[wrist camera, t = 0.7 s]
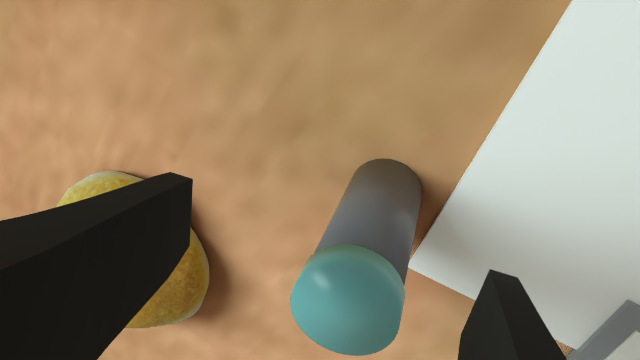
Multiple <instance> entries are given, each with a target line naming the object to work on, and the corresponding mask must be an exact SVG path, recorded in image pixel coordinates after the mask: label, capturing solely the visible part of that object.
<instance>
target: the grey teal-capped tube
mask: <svg viewBox="0 0 640 360" xmlns="http://www.w3.org/2000/svg"><path fill="white" fill-rule="evenodd" d="M421 200H422V187H421V184H420V181H419V179H418V177H417V176H416V174H415V173H414V172H413V171H412V170H411V169H410V168H409V167H407V166H406V165H404V164H402V163H401V162H398V161H395V160H391V159H375V160H371V161H369V162H367V163H365V164H363V165H362V166H360V167H359V168H358V169H357V171H356V172H355V173H354V175H353V177H352V179H351V181H350V183H349V185H348V187H347V189H346V191H345V193H344V195H343V197H342V199H341V201H340V203H339V205H338V207H337V209H336V211H335V213H334V215H333V217H332V219H331V221H330V223H329V225H328V227H327V229H326V231H325V233H324V235H323V237H322V239H321V241H320V243H319V245H318V247H317V249H316V251H315V253H314V254H313V255H312V256H311V257H310V258H309V259H308V261H307V262H306V264H305V266H304V268H303V270H302V272H301V274H300V276H299V278H298V280H297V282H296V284H295V286H294V287H293V290H292V293H291V298H290V305H291V311H292V314H293V317H294V319H295V321H296V322H297V324H298V326H299V327H300V328H301V330H302V331H303V332H304V333H305V334H306V335H307V336H308V337H309V338H310V339H312V340H313V341H314V342H316V343H317V344H319V345H321V346H322V347H324V348H326V349H328V350H331V351H334V352H337V353H341V354H345V355H355V356H359V355H368V354H372V353H376V352H378V351H380V350H382V349H384V348H385V347H387V346H388V345H389V344H390V343H391V342H392V341H393V340H394V339H395V337H396V335H397V333H398V330H399V325H400V320H401V315H402V310H403V305H404V299H405V290H404V284H405V279H406V274H407V269H408V264H409V259H410V254H411V249H412V244H413V239H414V235H415V230H416V225H417V220H418V215H419V210H420V205H421Z"/></svg>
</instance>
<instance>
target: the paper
mask: <svg viewBox="0 0 640 360" xmlns="http://www.w3.org/2000/svg"><path fill="white" fill-rule="evenodd" d="M408 268H410V269H412V270H414V271H416V272H418V273H420V274H422V275H424V276H426V277H428V278H430V279H432V280H434V281H436V282H439V283H441V284H443V285H445V286H447V287H449V288H451V289H453V290H455V291H457V292H459V293H461V294H463V295H465V296H467V297H469V298H471V299H473V300H475V301H476V299H477V297H478V295H479V292H480V290H481V288H482V285H483V283H484V281H485V279H486V276H487V274H488V272H489V269H491V270H495V271H498V272H501V273H505V274H508V275H511V276H515V277H518V278H519V280H520V282H521V284H522V285H523V287H524V289H525V290H526V292H527V294H528V296H529V297H530V299H531V301H532V303H533V304H534V306H535V308H536V310H537V311H538V313H539V315H540V317H541V318H542V320H543V322H544V323H545V325H546V327H547V328H548V330H549V332H550V333H551V335H552V337H553V338H554V339H555V340H557V341H559V342H561V343H563V344H565V345H567V346H569V347H571V348H573V349H575V350H577V349H578V348H579V347H580V346H581V345H582V344H583V343H584V342H585V341H586V340H587V339H588V338H589V337H590V336H591V335H592V334H593V333H594V332H595V331H596V330H597V329H598V328H599V327H600V326H601V325H602V324H603V323H604V322H605V321H606V320H607V319H608V318H609V317H610V316H611V315H612V314H613V313H614V312H615V311H616V310H617V309H618V308H619V307H620V306H621V305H622V304H623V303H624V302H625V301H626V300H627V299H628V300H630V301H632V302H634V303H636V304H638V305H640V0H572V1H571V3H570V4H569V6H568V8H567V9H566V11H565V12H564V14H563V16H562V17H561V19H560V20H559V22H558V24H557V25H556V27H555V28H554V30H553V32H552V33H551V35H550V37H549V38H548V40H547V41H546V43H545V45H544V46H543V48H542V49H541V51H540V53H539V54H538V56H537V57H536V59H535V61H534V62H533V64H532V65H531V67H530V69H529V70H528V72H527V73H526V75H525V77H524V78H523V80H522V81H521V83H520V85H519V86H518V88H517V89H516V91H515V93H514V94H513V96H512V97H511V99H510V101H509V102H508V104H507V105H506V107H505V109H504V110H503V112H502V114H501V115H500V117H499V118H498V120H497V122H496V123H495V125H494V126H493V128H492V130H491V131H490V133H489V134H488V136H487V138H486V139H485V141H484V142H483V144H482V146H481V147H480V149H479V150H478V152H477V154H476V155H475V157H474V158H473V160H472V162H471V163H470V165H469V166H468V168H467V170H466V171H465V173H464V174H463V176H462V178H461V179H460V181H459V182H458V184H457V186H456V187H455V189H454V190H453V192H452V194H451V195H450V197H449V199H448V200H447V202H446V203H445V205H444V207H443V208H442V210H441V211H440V213H439V215H438V216H437V218H436V219H435V221H434V223H433V224H432V226H431V227H430V229H429V231H428V232H427V234H426V235H425V237H424V239H423V240H422V242H421V243H420V245H419V247H418V248H417V250H416V251H415V253H414V255H413V256H412V258H411V259H410V261H409V264H408Z"/></svg>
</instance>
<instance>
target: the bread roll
mask: <svg viewBox="0 0 640 360" xmlns="http://www.w3.org/2000/svg"><path fill="white" fill-rule="evenodd" d="M142 180H145V179H142V178H138V177H135V176H132V175H129V174H126V173H122V172H118V171H102V172H98V173H94V174H92V175H90V176H88V177H86V178H85V179H83V180H81V181H79V182H77V183H76V184H74V185H73V186H72V187H70V188H69V189H68V190H67V192H66V193H65V194H64V196H63V197H62V199H61V200H60V202H59V203H58V205H57V207H59V206H63V205H66V204H70V203H73V202H76V201H80V200H83V199H87V198H90V197H93V196H96V195H99V194H102V193H105V192H108V191H111V190H115V189H118V188H121V187H124V186H127V185H130V184H133V183H136V182H139V181H142ZM209 278H210V277H209V263H208V259H207V256H206V254H205V251H204V249H203V246H202V245H201V242H200V241H199V239H198V237H197V235H196V233H195V232H194V231H193V230H192V228H191V229H190V246H189V248H188V249H187V251H186V252H185V254H184V256H183V257H182V259H181V260H180V262H179V263H178V265H177V266H176V268H175V269H174V271H173V272H172V273H171V275H170V276H169V278H168V279H167V280H166V281H165V282H164V284H163V285H162V286H161V287H160V288H159V289H158V291H157V292H156V293H155V294H154V295H153V296H152V297H151V298H150V300H149V301H148V302H147V303H146V304H145V305H144V306H143V307H142V309H141V310H140V311H139V312H138V313H137V314H136V315H135V316H134V318H133V319H132V320H131V321H130V322H129V323H128V324H127V325H126V326H125V328H149V327H157V326H163V325H167V324H174V323H177V322H180V321H183V320H185V319H187V318H189V317H191V316H193V315H194V314H195V313H196V312H197V311H198V310H199V308H200V307H201V304H202V302H203V299H204V296H205V294H206V292H207V289H208V285H209Z"/></svg>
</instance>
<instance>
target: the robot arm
mask: <svg viewBox="0 0 640 360" xmlns="http://www.w3.org/2000/svg"><path fill="white" fill-rule="evenodd" d="M192 183H193V179H191V178H188V177H184V176H181V175H178V174H175V173H171V172H169V173H165V174H161V175H157V176H154V177H151V178H148V179H145V180H142V181H139V182H136V183H133V184H130V185H127V186H124V187H121V188H118V189H115V190H111V191H108V192H105V193H102V194H99V195H96V196H93V197H90V198H87V199H83V200H80V201H76V202H73V203H70V204H66V205H63V206H59V207H56V208H52V209H49V210H45V211H42V212H38V213H34V214H29V215H25V216H21V217H16V218H12V219H7V220H2V221H0V360H97V359H98V358H99V357H100V355H101V354H102V353H103V352H104V350H105V349H106V348H107V347H108V346H109V344H110V343H111V342H112V341H113V340H114V339H115V338H116V337H117V335H118V334H119V333H120V332H121V331H122V330H123V329H124V328H125V326H126V325H127V324H128V323H129V322H130V321H131V320H132V319H133V318H134V316H135V315H136V314H137V313H138V312H139V311H140V310H141V309H142V307H143V306H144V305H145V304H146V303H147V302H148V301H149V300H150V298H151V297H152V296H153V295H154V294H155V293H156V292H157V291H158V289H159V288H160V287H161V286H162V285H163V284H164V282H165V281H166V280H167V279H168V278H169V276H170V275H171V273H172V272H173V271H174V269H175V268H176V266H177V265H178V263H179V262H180V260H181V259H182V257H183V256H184V254H185V252H186V251H187V249H188V248H189V246H190V229H191V206H192ZM458 360H567V359H566V357H565V356H564V354H563V352H562V351H561V349H560V348H559V346H558V345H557V343H556V341H555V340H554V338H553V337H552V335H551V333H550V332H549V330H548V328H547V327H546V325H545V323H544V322H543V320H542V318H541V317H540V315H539V313H538V311H537V310H536V308H535V306H534V304H533V303H532V301H531V299H530V297H529V296H528V294H527V292H526V290H525V289H524V287H523V285H522V284H521V282H520V280H519V278H518V277H515V276H511V275H508V274H505V273H501V272H498V271H495V270H491V269H489V272H488V274H487V276H486V279H485V281H484V283H483V285H482V288H481V290H480V292H479V295H478V297H477V299H476V301H475V304H474V306H473V308H472V311H471V313H470V315H469V317H468V320H467V322H466V324H465V327H464V329H463V331H462V333H461V339H460V346H459V354H458Z"/></svg>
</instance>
